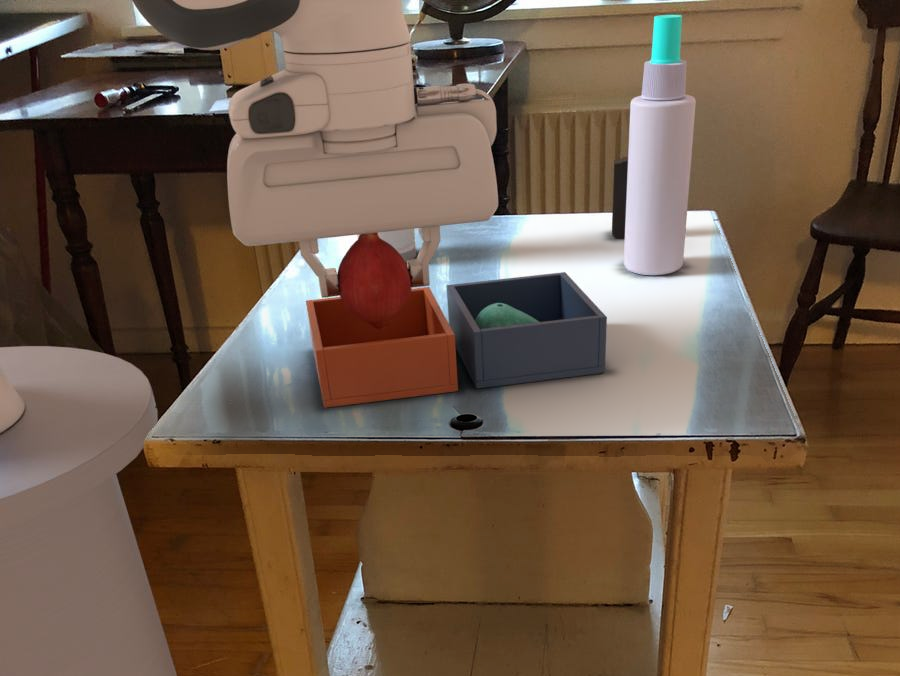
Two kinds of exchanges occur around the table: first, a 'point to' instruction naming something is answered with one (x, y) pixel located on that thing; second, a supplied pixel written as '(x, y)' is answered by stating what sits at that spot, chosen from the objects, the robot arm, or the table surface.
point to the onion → (374, 281)
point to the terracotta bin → (382, 352)
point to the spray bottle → (659, 158)
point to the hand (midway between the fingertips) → (374, 290)
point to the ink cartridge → (619, 197)
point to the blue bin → (528, 330)
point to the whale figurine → (502, 316)
